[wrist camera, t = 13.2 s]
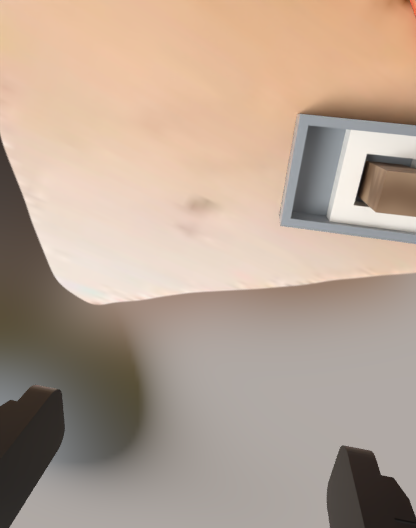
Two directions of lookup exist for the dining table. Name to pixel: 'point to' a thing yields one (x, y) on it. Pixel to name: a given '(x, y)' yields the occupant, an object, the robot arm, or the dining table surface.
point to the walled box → (343, 176)
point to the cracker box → (413, 6)
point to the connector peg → (389, 188)
